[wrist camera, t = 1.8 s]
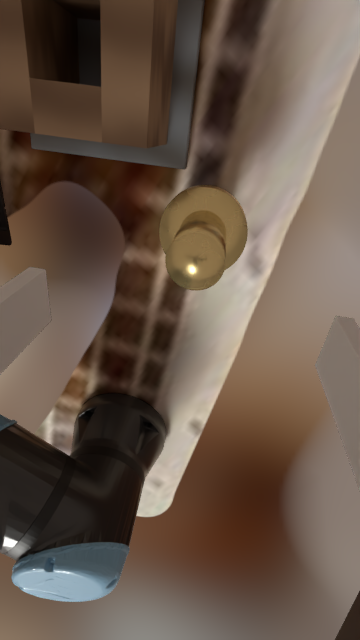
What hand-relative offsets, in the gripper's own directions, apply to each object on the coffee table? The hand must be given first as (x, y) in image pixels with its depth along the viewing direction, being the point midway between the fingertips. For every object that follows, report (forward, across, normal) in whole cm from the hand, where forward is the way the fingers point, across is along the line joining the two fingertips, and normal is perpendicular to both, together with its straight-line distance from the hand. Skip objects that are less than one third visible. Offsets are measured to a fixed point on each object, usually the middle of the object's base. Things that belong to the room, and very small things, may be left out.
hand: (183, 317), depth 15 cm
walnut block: (+24, +11, -12) cm, 29 cm away
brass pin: (+24, 0, 0) cm, 24 cm away
